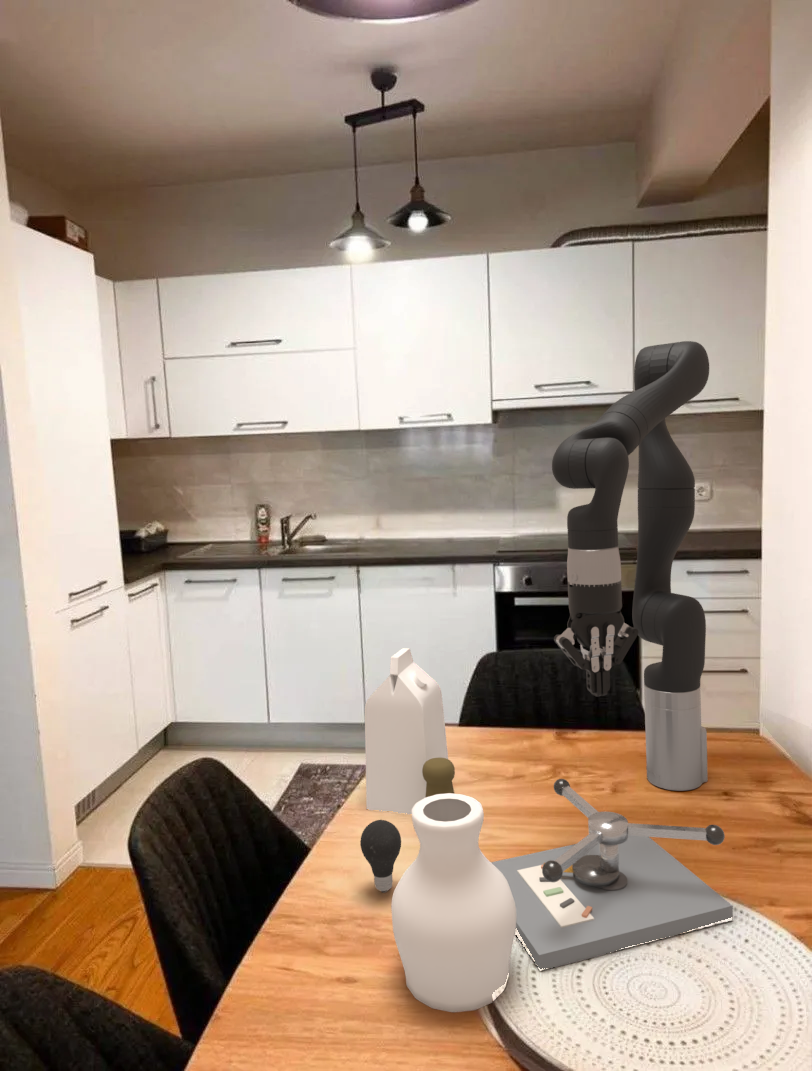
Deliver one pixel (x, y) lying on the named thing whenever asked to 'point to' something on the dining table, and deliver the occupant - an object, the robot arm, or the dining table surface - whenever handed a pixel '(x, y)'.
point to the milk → (402, 735)
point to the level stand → (607, 903)
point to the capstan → (610, 842)
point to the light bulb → (381, 851)
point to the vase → (453, 909)
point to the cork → (438, 776)
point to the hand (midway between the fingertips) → (598, 694)
